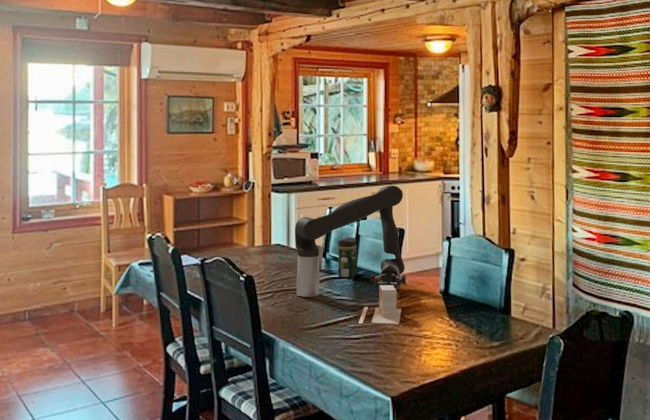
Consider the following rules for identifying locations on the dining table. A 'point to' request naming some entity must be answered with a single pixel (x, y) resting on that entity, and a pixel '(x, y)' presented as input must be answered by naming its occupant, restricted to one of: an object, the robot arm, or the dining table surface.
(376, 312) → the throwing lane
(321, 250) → the cup
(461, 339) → the dining table surface
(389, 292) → the small box
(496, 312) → the dining table surface
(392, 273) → the robot arm
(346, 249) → the coffee jar
